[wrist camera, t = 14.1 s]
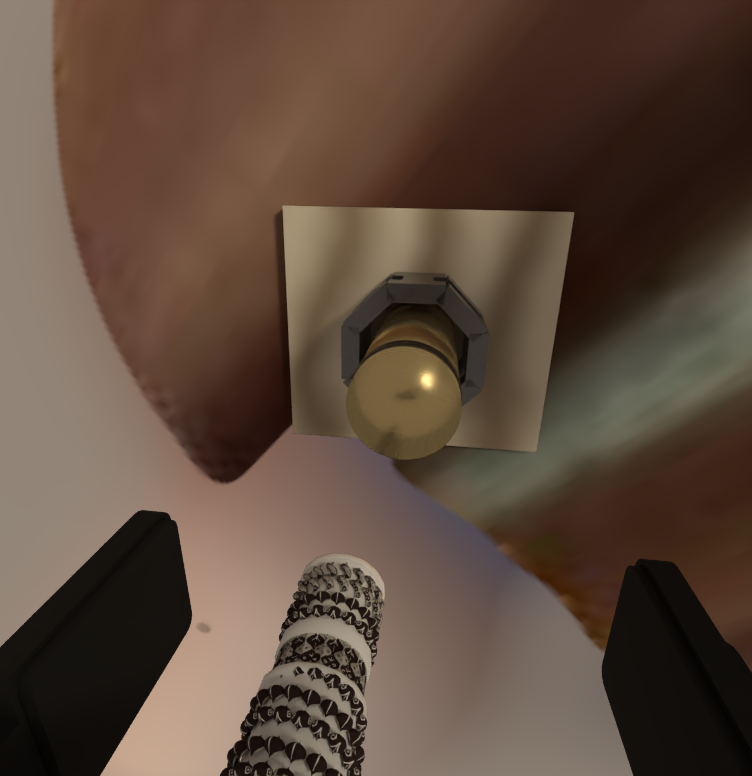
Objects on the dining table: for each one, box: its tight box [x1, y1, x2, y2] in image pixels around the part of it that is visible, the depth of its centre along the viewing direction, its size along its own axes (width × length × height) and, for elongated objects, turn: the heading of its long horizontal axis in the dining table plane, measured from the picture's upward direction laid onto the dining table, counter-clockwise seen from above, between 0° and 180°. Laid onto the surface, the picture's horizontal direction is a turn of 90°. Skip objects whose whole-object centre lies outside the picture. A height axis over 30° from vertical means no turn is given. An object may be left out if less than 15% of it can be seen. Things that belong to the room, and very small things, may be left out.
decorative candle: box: [220, 553, 385, 776], centre depth 35 cm, size 9×9×25 cm
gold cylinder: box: [346, 303, 462, 460], centre depth 29 cm, size 6×6×14 cm
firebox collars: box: [341, 272, 489, 406], centre depth 33 cm, size 9×9×6 cm
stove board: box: [283, 206, 574, 452], centre depth 36 cm, size 20×18×1 cm
